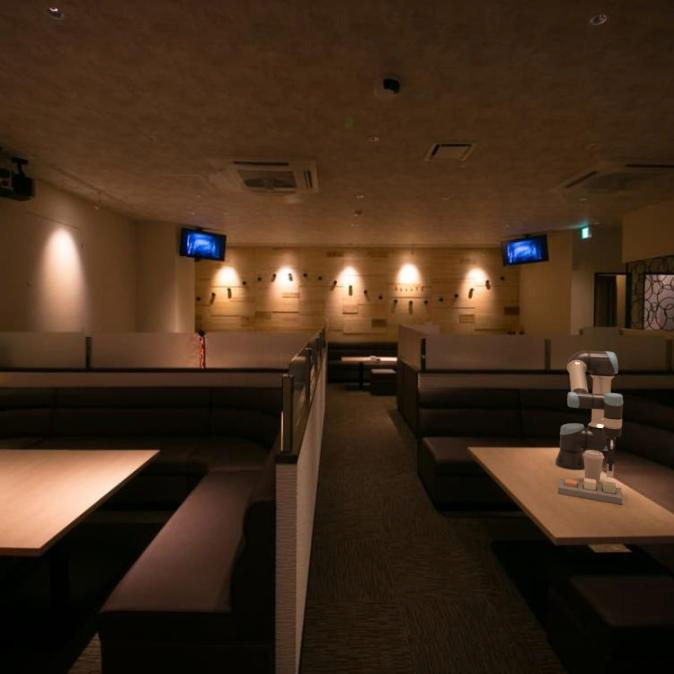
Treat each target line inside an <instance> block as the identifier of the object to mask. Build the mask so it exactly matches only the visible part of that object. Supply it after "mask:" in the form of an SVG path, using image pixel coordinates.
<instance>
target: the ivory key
mask: <svg viewBox="0 0 674 674" xmlns="http://www.w3.org/2000/svg"><path fill="white" fill-rule="evenodd" d="M583 482H584V489H590V490H596V480H595V479H588V478H585V477H584V479H583Z"/></svg>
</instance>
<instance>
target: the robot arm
mask: <svg viewBox="0 0 674 674" xmlns="http://www.w3.org/2000/svg"><path fill="white" fill-rule="evenodd" d="M566 369H567V372H568V373H569V381H570V383H569V384H570V391H569V392H568V393H567V406H568V407H569V408H576V409H587V410H588V409H589V410H591V421H590V422H589V423H588V424H587V427H586V426H584V424H583V423H575V422H574V423H566V424H563V425H561V426H560V432H559V436H560V437H559V438H560V440H559V451H558V454H557V456H556V458H555V465H556V466H558V467H560V468H563V469H567V470H575V471H579V470H580V471H581V470H585V467H584V456H583V454H584V451H583V450H584V449H585V450H594V451H600V452H603V451H604V452H607V457H606V460H607V461H605V464H606V478H609V479H613V478H614V471H615V464H616V461H615V451H616V445H617V443H618V442H617V439H616V438H619V437H621V436H622V427H623V405H624V399H623V397H624V396H623V395H622V394H621V393H615V392H611V390H612V389H611V387H612V380H613V378H615V374H618V373H619V363H618V357H617V354H616V353H615V352H613V351H607V350H604V351H603V350H580V351H577V352H575V353H574V354H572V355H571V356H570V357H569V359H568V360H567V363H566ZM586 372H587V373H590V374H589V376H590V377H591V378H592V393H589V388H588V382H587V376H586Z"/></svg>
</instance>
